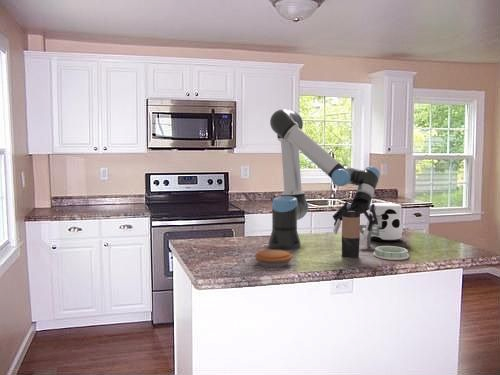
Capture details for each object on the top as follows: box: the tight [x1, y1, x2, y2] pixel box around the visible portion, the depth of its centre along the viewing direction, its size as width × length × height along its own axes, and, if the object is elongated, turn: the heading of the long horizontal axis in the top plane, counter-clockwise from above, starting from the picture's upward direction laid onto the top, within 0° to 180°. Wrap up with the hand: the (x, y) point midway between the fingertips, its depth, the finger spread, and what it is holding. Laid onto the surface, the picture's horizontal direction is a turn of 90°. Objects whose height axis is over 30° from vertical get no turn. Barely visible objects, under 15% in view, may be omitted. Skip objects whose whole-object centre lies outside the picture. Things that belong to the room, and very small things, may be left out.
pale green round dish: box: [372, 245, 410, 261], centre depth 202 cm, size 15×15×3 cm
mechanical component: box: [360, 224, 381, 248], centre depth 220 cm, size 3×10×10 cm, turn 79°
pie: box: [254, 249, 294, 268], centre depth 189 cm, size 16×16×5 cm
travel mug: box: [341, 209, 361, 259], centre depth 200 cm, size 8×8×20 cm
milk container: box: [368, 202, 404, 242], centre depth 234 cm, size 17×17×18 cm
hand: (349, 234), depth 199 cm, fingers open, 13 cm apart
